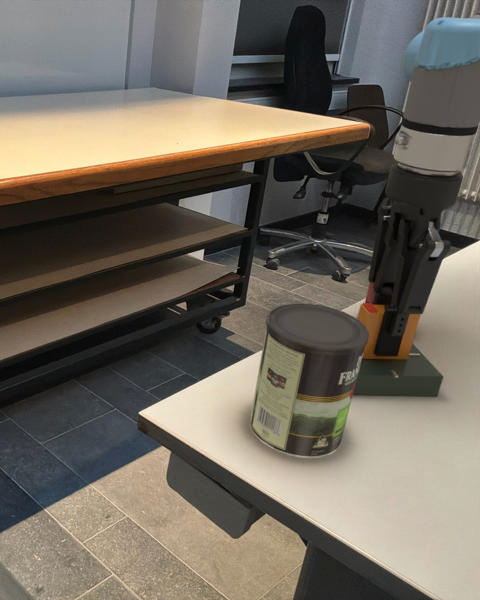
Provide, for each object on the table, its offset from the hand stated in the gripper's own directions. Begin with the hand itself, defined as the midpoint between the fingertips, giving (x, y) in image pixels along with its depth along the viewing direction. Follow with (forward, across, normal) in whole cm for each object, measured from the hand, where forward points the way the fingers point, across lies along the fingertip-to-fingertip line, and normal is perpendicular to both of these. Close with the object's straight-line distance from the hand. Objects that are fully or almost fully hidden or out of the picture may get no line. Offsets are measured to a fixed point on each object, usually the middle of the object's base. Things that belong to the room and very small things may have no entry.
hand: (380, 347), depth 86 cm
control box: (+5, 0, 0) cm, 5 cm away
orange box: (+1, 0, 0) cm, 1 cm away
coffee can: (+5, +12, -14) cm, 19 cm away
